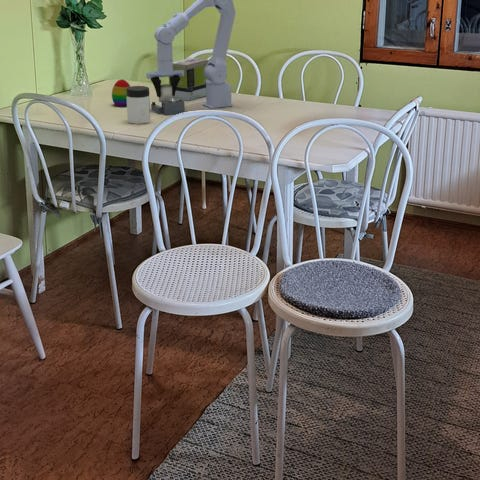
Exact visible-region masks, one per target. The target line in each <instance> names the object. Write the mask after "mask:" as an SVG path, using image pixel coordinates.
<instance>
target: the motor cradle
mask: <svg viewBox="0 0 480 480" xmlns="http://www.w3.org/2000/svg"><path fill="white" fill-rule="evenodd" d="M150 111H152V112H155V113H156V114H158V115H161V114H162V115H163V114H164V116H171V114H172V115H178V114H177V113H181V112H186V111H185V101H184V100H178V99H169V101H164V102H161V105H158V104H156V101H152V102H151V103H150Z"/></svg>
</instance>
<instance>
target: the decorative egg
mask: <svg viewBox="0 0 480 480" xmlns="http://www.w3.org/2000/svg"><path fill="white" fill-rule="evenodd" d="M127 87H131V85H130V83H129V82H128V81H126V80H125V79H118V80H117V81H116V82H115V83H114V85H113V87H112V90H111V98H112V102H113V104H114V105H115V106H116V107H127V98H126V97H127V95H126V88H127Z"/></svg>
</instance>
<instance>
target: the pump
mask: <svg viewBox="0 0 480 480" xmlns="http://www.w3.org/2000/svg"><path fill="white" fill-rule="evenodd" d="M160 89H161V97H158V102H159V103H162V102H164V101H169V99H172V86H170V85H169V83H164V84H162V83H161V88H160Z"/></svg>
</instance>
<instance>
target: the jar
mask: <svg viewBox="0 0 480 480" xmlns="http://www.w3.org/2000/svg"><path fill="white" fill-rule="evenodd" d="M130 86H131V85H130ZM126 95H127V97H126V98H127V106H126V118H127V119H126V120H127V123H128V124H135V125H140V124H141V125H142V124H148V123H150V121H151V101H150V87H148V86H145V85H144V86H143V85H133V86H131V87H127V88H126Z"/></svg>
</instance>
